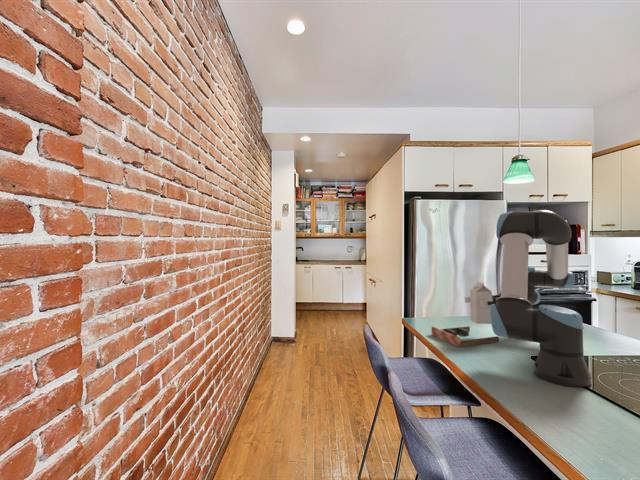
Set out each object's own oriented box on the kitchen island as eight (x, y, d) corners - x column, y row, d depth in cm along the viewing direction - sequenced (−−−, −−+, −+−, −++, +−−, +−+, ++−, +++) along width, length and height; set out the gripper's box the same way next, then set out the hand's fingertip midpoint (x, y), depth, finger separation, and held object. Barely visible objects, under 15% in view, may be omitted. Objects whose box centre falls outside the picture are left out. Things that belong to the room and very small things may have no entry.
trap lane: (498, 341, 139) (498, 333, 139) (458, 347, 133) (458, 337, 133) (468, 330, 158) (468, 322, 158) (431, 334, 152) (431, 326, 152)
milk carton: (485, 320, 148) (485, 281, 148) (492, 324, 141) (491, 283, 141) (470, 320, 149) (469, 281, 149) (476, 324, 141) (475, 283, 142)
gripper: (531, 311, 139) (491, 314, 133) (492, 302, 160) (456, 305, 154) (531, 294, 139) (491, 297, 133) (492, 288, 160) (456, 290, 154)
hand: (472, 301), depth 144 cm, fingers closed on milk carton, 9 cm apart
